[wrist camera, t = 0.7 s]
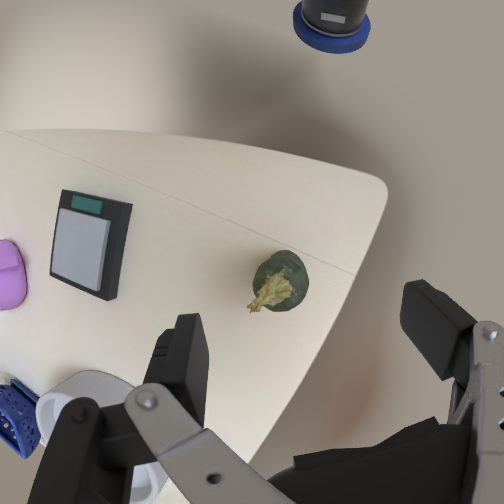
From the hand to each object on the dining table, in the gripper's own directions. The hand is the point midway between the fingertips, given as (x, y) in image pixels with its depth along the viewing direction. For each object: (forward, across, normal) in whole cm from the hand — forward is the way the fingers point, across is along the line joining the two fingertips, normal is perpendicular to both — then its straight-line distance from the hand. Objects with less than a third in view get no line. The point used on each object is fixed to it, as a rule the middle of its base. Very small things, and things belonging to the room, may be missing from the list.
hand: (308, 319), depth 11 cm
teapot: (+34, +50, +8) cm, 61 cm away
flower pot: (+25, +56, +38) cm, 72 cm away
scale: (+31, +26, +4) cm, 40 cm away
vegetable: (+25, -2, +8) cm, 26 cm away
